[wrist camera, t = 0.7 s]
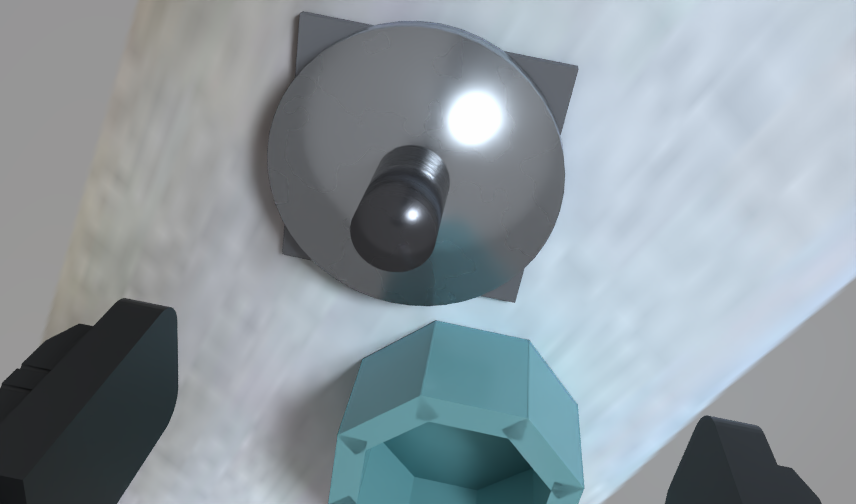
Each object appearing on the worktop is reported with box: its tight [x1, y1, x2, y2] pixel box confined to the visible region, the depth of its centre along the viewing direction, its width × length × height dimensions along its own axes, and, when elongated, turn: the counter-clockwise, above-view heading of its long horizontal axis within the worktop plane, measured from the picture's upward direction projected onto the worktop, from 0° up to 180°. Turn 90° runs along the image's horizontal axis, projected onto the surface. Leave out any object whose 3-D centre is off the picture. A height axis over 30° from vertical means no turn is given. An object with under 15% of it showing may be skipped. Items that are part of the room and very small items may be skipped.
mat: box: [283, 11, 578, 303], centre depth 28 cm, size 10×10×1 cm
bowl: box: [328, 321, 584, 504], centre depth 32 cm, size 10×10×5 cm
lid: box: [267, 21, 565, 306], centre depth 26 cm, size 11×11×5 cm
